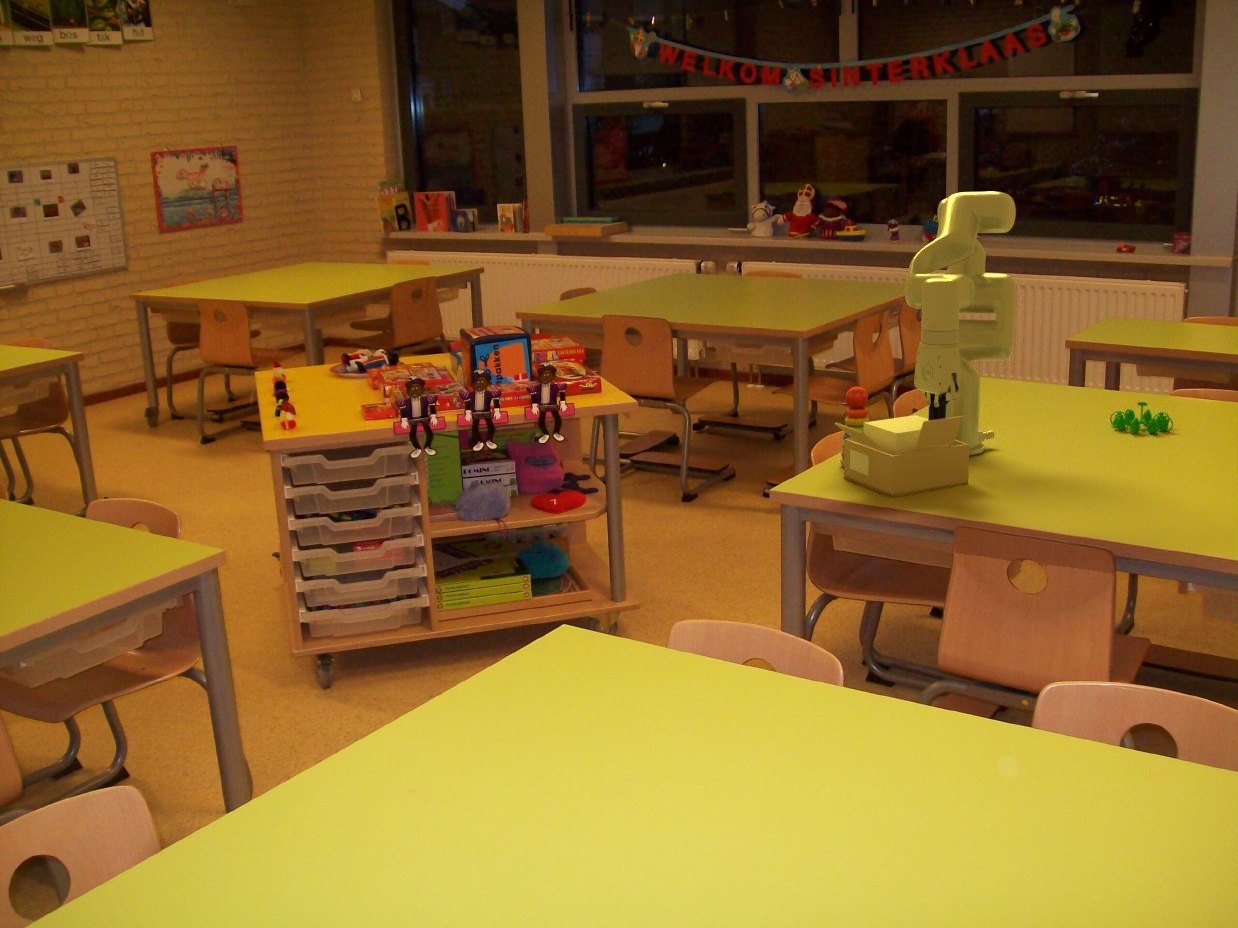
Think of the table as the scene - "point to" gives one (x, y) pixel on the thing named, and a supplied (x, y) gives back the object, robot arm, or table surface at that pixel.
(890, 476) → the carton
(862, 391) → the stacking toy
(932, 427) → the flap left
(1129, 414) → the chandelier
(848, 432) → the flap far
